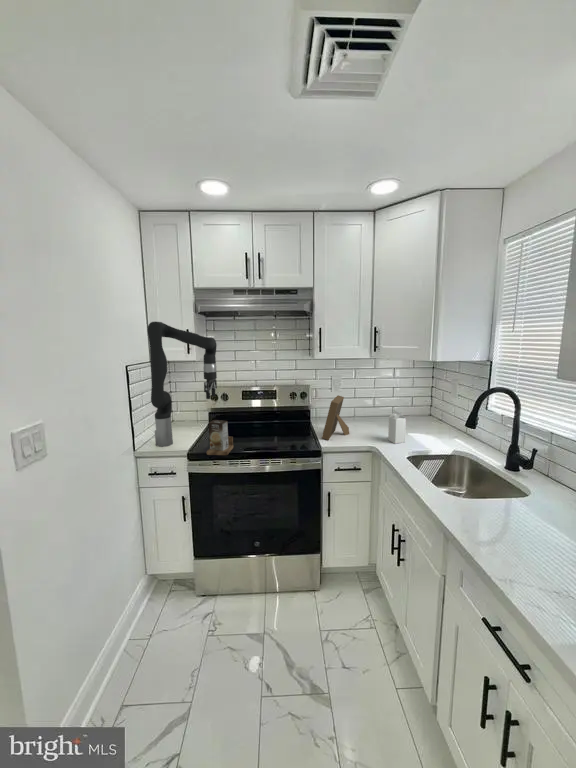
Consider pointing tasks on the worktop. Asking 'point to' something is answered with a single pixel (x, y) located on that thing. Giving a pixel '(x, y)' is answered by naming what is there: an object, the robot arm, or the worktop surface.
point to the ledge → (225, 452)
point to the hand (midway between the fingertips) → (210, 397)
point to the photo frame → (334, 419)
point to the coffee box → (218, 435)
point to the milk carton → (397, 427)
